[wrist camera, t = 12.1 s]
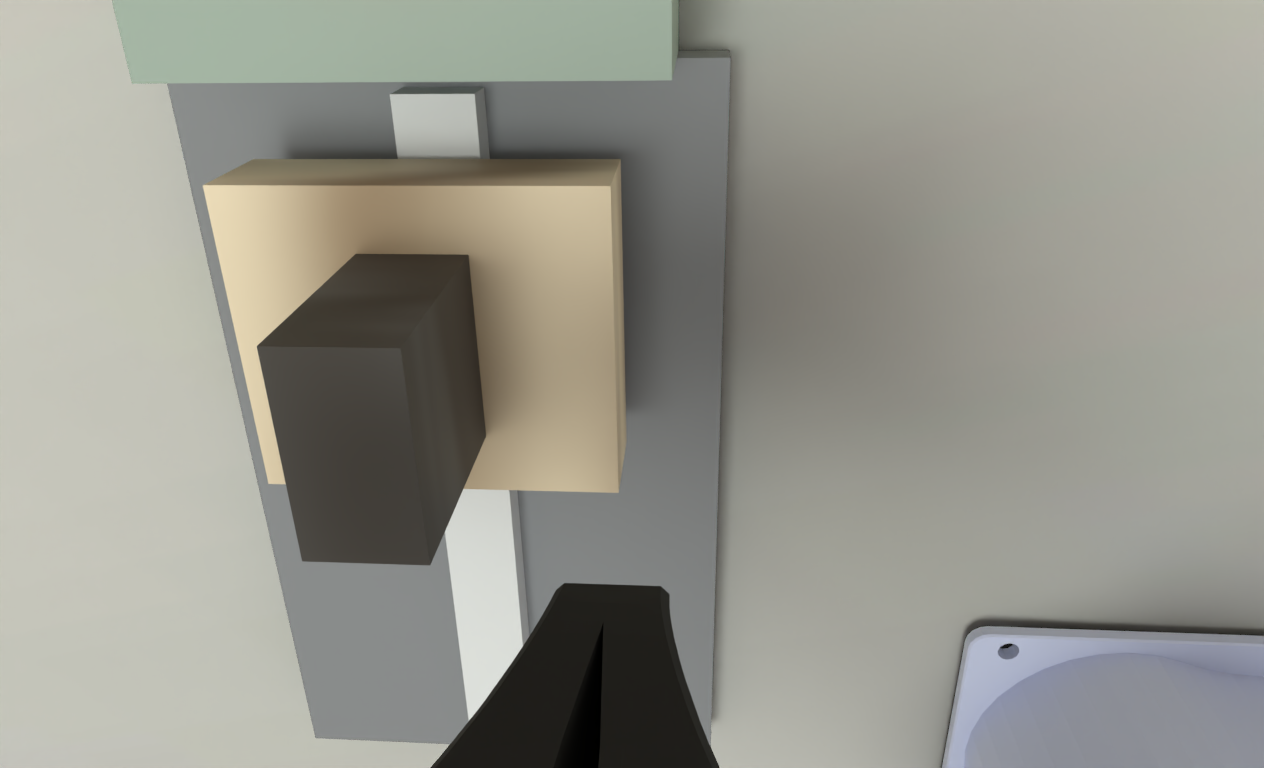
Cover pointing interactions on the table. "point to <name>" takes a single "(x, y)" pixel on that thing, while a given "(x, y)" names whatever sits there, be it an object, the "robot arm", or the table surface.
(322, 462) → the carriage
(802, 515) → the table surface
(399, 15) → the green button housing
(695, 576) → the track
